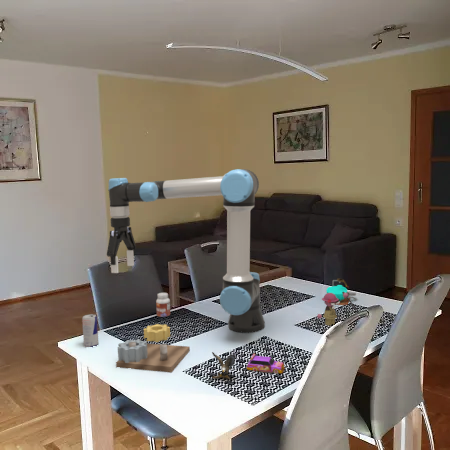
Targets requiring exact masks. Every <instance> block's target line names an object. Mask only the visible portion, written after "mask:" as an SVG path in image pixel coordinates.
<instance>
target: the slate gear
mask: <svg viewBox="0 0 450 450" xmlns="http://www.w3.org/2000/svg"><path fill="white" fill-rule="evenodd" d="M130 342H136V346H135V347H129V343H130ZM147 344H148V341H147V340H144V341H142V340H141V339H139V338H138V339H134V340H133V339H132V340H131V339H127V340H126V341H125V342H120V343H118V346H117V359H118V360H119V361H121V360H123V361H125V363H129V362H134V361H136V362H140V360H141V359H146V358H147V354H148V352H147ZM118 360H117V361H118Z"/></svg>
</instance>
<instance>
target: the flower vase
mask: <svg viewBox="0 0 450 450" xmlns="http://www.w3.org/2000/svg"><path fill="white" fill-rule="evenodd" d="M342 293H343V297H344V298H346V299H348V300H349V298H350V297H349V296H348V293H345V292H342ZM339 300H340V299H338V298H336V296H335V295H334V294H333V293H327V292H326V294H324V296H323V297H322V298H321V301H323V302H325V303H324V304H325V305H326V307H325V308H324V314H323V315H322V314H321V313H318V314H317V315H316V317H317V318H318V319H322V318H324V319H325V323H324V324H325V325H326V326H333V325H335V324H336V323H335V322H336V321H335V320H336V319H337V318H338V316H337V315H336V314H337V313H336V310H335V308H336V305H335V304H339V303H340V301H339ZM336 301H338V302H337V303H336ZM349 303H350V305H351V306H352V307H353V308H354V309H357V307H356V305H354V303H353V302H352V301H351V299H350V300H349ZM332 324H333V325H332Z"/></svg>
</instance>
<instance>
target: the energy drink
mask: <svg viewBox="0 0 450 450" xmlns="http://www.w3.org/2000/svg"><path fill="white" fill-rule="evenodd" d="M81 322H82V337H83V347H84V346H85V347H84V348H86V347H92V348H94V347H93V346H96V347H98V346H99V344H100V343H99V330H98V329H99V328H98V327H99V326H98V317H97V315H96V314H93V313H91V314H85V315H83V316H82V318H81ZM97 345H98V346H97Z"/></svg>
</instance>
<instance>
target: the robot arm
mask: <svg viewBox="0 0 450 450" xmlns="http://www.w3.org/2000/svg"><path fill="white" fill-rule="evenodd" d="M259 188H260V182H259V178H258V176H257V175H256V174H255V173H254V172H253V171H251V170H249V169H243V168H242V169H240V168H237V169H232V170H229V171H228V172H227V173H224V175H219V176H207V177H196V178H193V177H192V178H185V179H183V178H182V179H172V180H168V179H167V180H155V181H154V180H152V181H145V182H143V181H142V182H129V181H128V178H127V177H118V178H117V177H116V178H115V177H113V178H109V180H108V198H109V200H108V201H109V214H110V227H112V228H114V229H113V230H110V231H109V238H108V243H107V244H108V245H107V250H106V256H107V257H110V258H109V259H110V272H111V274H119V273H120V272H119V259H118V258H119V256H117V254H118V250H119V248H120V245H121V243H122V241H123V244H124V245H125V247H126V261H127V262H126V263H127V265H126V266H127V267H134V266H135V259H134V258H135V257H134V255H135V254H134V251H136V250H137V245H136V244H137V243H136V241H135V239H134V235H133V231H132V227H131V219H130V218H131V217H130V215H131V214H130V202H131V203H132V202H135V203H137V202H139V203H143V202H144V203H149V202H151V203H152V202H155V201H156V200H166V199H181V198H196V197H197V198H198V197H199V198H200V197H214V196H216V197H217V196H222V198H223V199H222V205H223V208H225V210H226V211H227V216H226V221H227V222H226V225H227V227H226V229H227V230H226V273H225V275H223V276H222V290H221V292H220V295H219V303H220V306H221V308H222V309H223V311H225V313H228V314H229V317H228V322H227V325H228V328H227V329H228V330H230V331H232V332H234V333H238V334H241V333H242V334H252V333H257V332H260V331H262V330H264V329H265V327H266V325H265V324H266V323H265V318H264V316H263V312H262V310H261V289H260V288H261V287H260V286H261V285H260V281H261V279H260V274H259V273H258V272H254V271H253V272H252V271H250V266H251V265H250V264H251V263H250V261H251V260H250V259H251V252H250V251H251V248H250V247H251V210H253V209H254V208H255V202H256V201H255V200H256V199H255V195H256V194H257V193H258V191H259Z"/></svg>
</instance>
